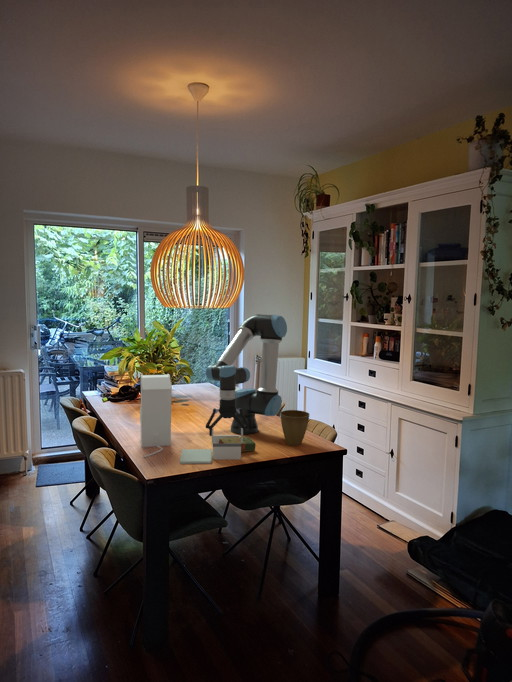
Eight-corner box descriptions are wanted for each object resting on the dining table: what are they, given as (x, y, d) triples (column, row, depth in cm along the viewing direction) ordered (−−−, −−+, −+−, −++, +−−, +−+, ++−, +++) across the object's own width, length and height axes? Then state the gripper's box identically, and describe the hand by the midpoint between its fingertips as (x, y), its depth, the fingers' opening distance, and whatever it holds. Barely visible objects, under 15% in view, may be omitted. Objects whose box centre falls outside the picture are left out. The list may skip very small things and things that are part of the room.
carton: (218, 446, 241) (219, 438, 240) (247, 443, 249) (248, 435, 248) (225, 453, 234) (226, 445, 233) (255, 450, 242) (256, 442, 241)
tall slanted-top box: (166, 436, 265) (167, 370, 262) (174, 456, 231) (174, 382, 228) (139, 437, 261) (139, 371, 258) (142, 458, 227) (142, 382, 224)
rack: (212, 447, 247) (212, 432, 246) (238, 446, 248) (239, 432, 247) (212, 459, 228) (212, 444, 227) (240, 459, 229) (241, 444, 228)
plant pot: (273, 443, 255) (274, 412, 254) (292, 438, 265) (293, 408, 264) (295, 450, 244) (296, 418, 243) (314, 444, 255) (315, 413, 254)
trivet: (182, 451, 239) (182, 449, 239) (211, 451, 240) (211, 449, 240) (179, 463, 221) (179, 461, 221) (211, 463, 223) (211, 461, 222)
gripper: (200, 400, 231) (200, 445, 232) (254, 399, 233) (254, 444, 234) (200, 397, 238) (200, 440, 239) (253, 396, 240) (253, 440, 242)
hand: (227, 442), depth 237 cm, fingers open, 13 cm apart
